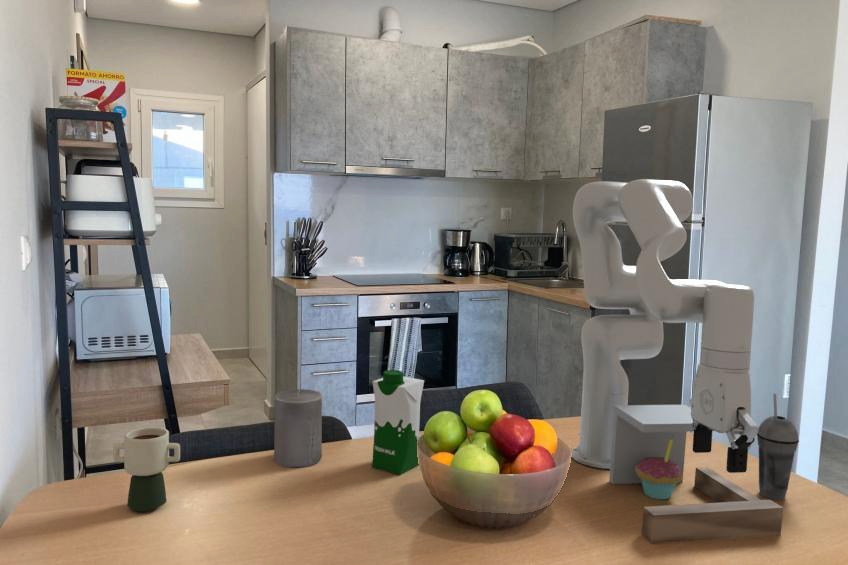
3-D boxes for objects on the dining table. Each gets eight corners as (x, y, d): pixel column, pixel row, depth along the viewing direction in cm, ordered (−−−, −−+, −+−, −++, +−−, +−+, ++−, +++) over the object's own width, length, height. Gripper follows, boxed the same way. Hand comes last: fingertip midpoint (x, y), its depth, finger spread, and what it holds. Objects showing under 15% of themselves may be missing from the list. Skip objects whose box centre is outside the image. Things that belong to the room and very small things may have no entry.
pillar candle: (298, 448, 149) (298, 380, 148) (331, 458, 144) (332, 388, 142) (263, 460, 141) (263, 389, 140) (297, 472, 136) (297, 398, 134)
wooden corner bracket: (593, 492, 132) (595, 466, 131) (705, 486, 137) (707, 462, 136) (651, 544, 111) (653, 515, 111) (780, 535, 116) (783, 507, 116)
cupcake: (682, 491, 133) (687, 431, 132) (678, 507, 126) (683, 444, 124) (636, 482, 137) (641, 424, 136) (630, 498, 129) (634, 436, 128)
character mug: (184, 497, 122) (184, 426, 121) (175, 515, 115) (175, 440, 114) (120, 498, 121) (119, 426, 119) (106, 516, 114) (106, 440, 112)
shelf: (609, 481, 137) (614, 405, 136) (678, 479, 140) (684, 404, 138) (637, 506, 125) (643, 424, 124) (712, 504, 128) (719, 423, 126)
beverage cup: (798, 505, 129) (808, 401, 127) (757, 500, 130) (766, 397, 128) (786, 489, 136) (795, 391, 134) (747, 485, 137) (755, 388, 135)
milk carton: (365, 467, 139) (368, 370, 137) (391, 455, 147) (394, 363, 145) (401, 477, 135) (404, 378, 133) (425, 464, 142) (429, 369, 140)
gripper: (675, 350, 120) (670, 445, 122) (736, 370, 103) (729, 481, 105) (715, 350, 122) (709, 444, 123) (781, 370, 105) (773, 479, 106)
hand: (718, 461), depth 114 cm, fingers open, 9 cm apart
